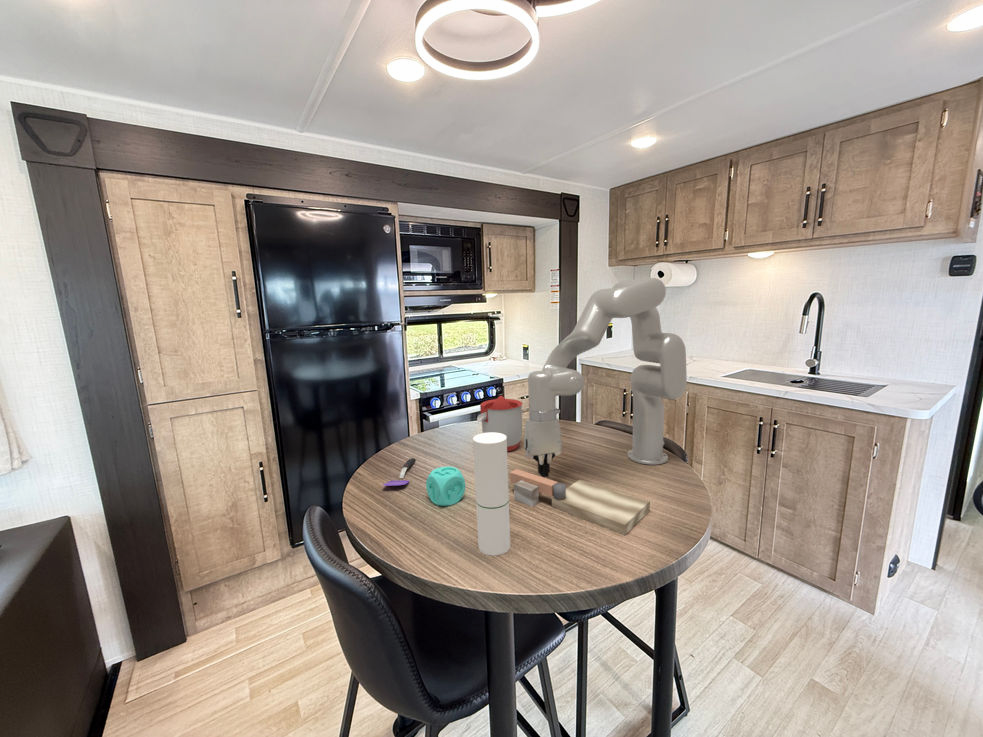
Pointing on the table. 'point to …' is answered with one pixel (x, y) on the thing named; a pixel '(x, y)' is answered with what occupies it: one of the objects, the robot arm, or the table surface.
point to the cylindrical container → (492, 492)
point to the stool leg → (540, 483)
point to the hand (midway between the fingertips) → (544, 475)
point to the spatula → (402, 474)
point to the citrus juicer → (503, 419)
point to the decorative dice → (445, 486)
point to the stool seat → (592, 504)
